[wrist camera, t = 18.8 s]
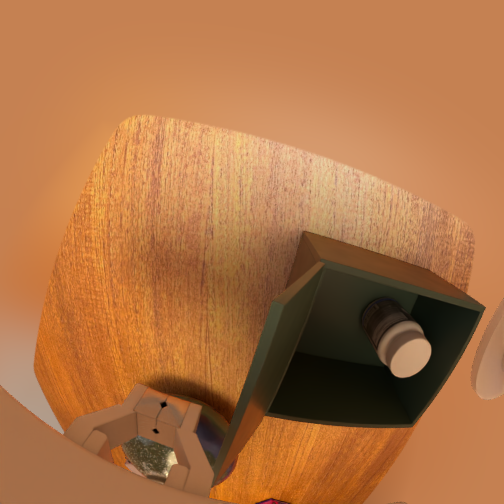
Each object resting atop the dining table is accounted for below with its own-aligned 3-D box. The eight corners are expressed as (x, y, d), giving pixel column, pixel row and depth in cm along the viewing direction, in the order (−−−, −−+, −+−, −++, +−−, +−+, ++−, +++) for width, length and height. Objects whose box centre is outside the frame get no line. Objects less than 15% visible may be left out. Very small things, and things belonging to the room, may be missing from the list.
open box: (266, 345, 28) (259, 414, 18) (303, 230, 25) (320, 258, 15) (383, 368, 28) (412, 427, 18) (428, 269, 25) (486, 307, 15)
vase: (223, 371, 30) (196, 460, 17) (255, 443, 33) (246, 516, 20) (122, 376, 32) (75, 439, 19) (166, 443, 35) (141, 502, 22)
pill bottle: (403, 323, 26) (437, 365, 18) (366, 342, 27) (391, 390, 19) (395, 288, 25) (432, 325, 17) (355, 307, 26) (381, 352, 18)
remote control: (153, 484, 41) (149, 493, 38) (116, 447, 38) (110, 457, 35) (177, 488, 40) (174, 498, 37) (141, 451, 37) (136, 462, 34)
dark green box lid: (261, 421, 17) (256, 419, 18) (325, 263, 14) (318, 261, 14) (211, 488, 11) (205, 485, 11) (284, 305, 8) (271, 300, 8)
